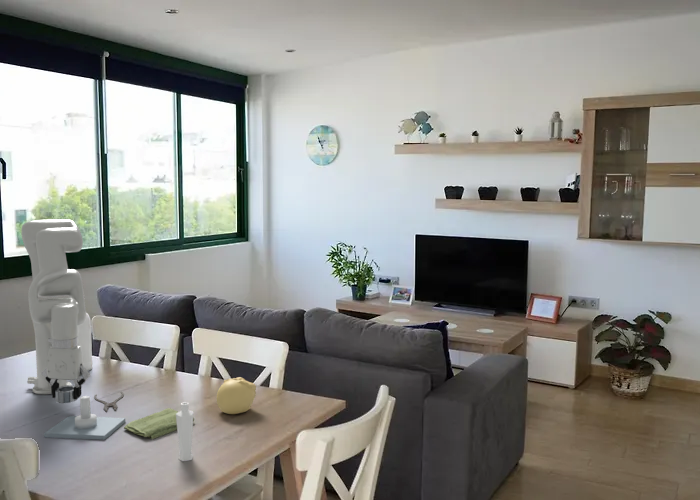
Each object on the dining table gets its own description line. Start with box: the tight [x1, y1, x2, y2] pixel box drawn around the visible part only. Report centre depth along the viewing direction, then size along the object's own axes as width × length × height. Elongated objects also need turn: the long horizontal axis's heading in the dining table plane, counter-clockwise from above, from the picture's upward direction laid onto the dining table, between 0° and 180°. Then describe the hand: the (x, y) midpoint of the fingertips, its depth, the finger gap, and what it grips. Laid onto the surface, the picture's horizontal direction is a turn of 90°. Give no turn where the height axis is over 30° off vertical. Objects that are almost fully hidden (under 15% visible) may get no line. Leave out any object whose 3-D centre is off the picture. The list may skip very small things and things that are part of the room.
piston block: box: [43, 395, 126, 441], centre depth 194 cm, size 18×14×10 cm
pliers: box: [93, 391, 125, 413], centre depth 219 cm, size 10×1×20 cm
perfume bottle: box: [176, 401, 194, 462], centre depth 174 cm, size 5×4×15 cm
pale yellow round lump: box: [216, 376, 257, 415], centre depth 210 cm, size 12×12×11 cm
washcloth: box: [123, 407, 195, 440], centre depth 197 cm, size 13×18×3 cm
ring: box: [55, 384, 78, 404], centre depth 208 cm, size 6×6×4 cm
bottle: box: [78, 296, 93, 372], centre depth 255 cm, size 8×8×30 cm
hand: (66, 396), depth 208 cm, fingers closed on ring, 6 cm apart
